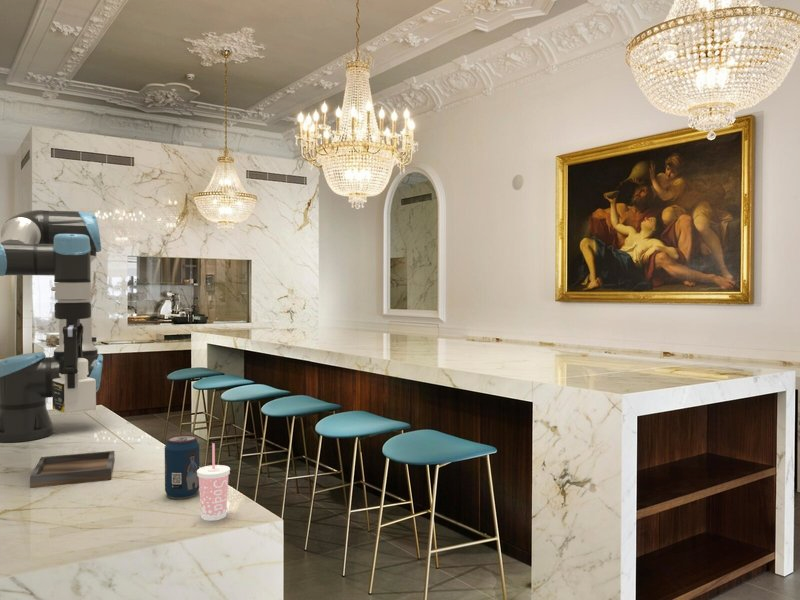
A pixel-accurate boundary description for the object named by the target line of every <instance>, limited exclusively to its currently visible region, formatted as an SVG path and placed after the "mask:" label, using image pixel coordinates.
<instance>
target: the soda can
mask: <svg viewBox="0 0 800 600" xmlns="http://www.w3.org/2000/svg"><path fill="white" fill-rule="evenodd" d="M200 464H201V463H200V443H199V441H198V439H197V436H196V435H192V434H177V435H173V436H169V437H168V438H167V442H166V444H165V445H164V492H165V493H166V495H167V496H168V498H170V499H173V500H183V499H184V500H186V499H189V498H191V497H194V496H196V495H197V493H198V492H199V491H200V490H199V477H198V476H197V470H198V469H199V468H201V467H200Z"/></svg>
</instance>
